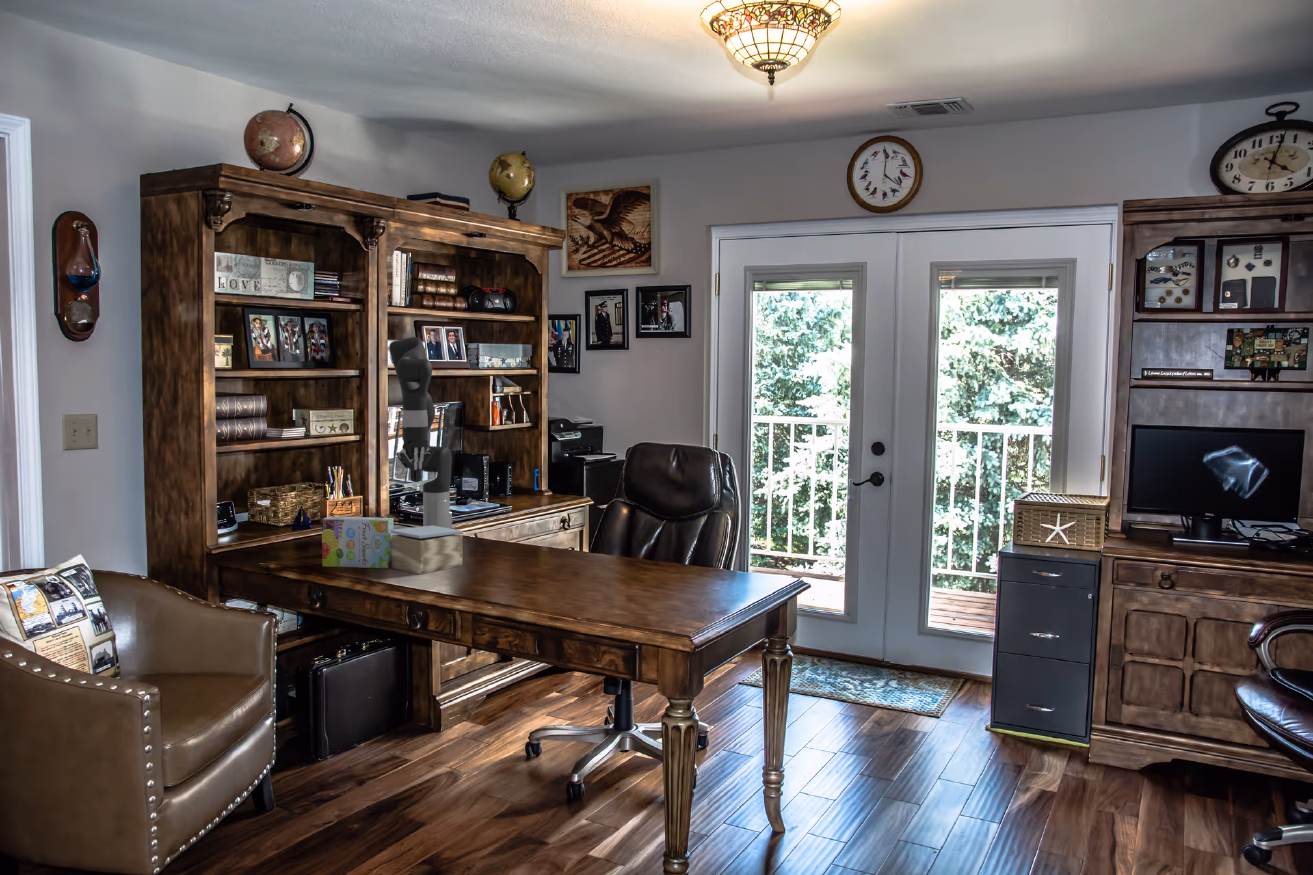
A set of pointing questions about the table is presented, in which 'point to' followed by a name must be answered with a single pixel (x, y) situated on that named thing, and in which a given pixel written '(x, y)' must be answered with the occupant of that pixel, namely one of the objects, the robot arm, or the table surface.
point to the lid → (426, 531)
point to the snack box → (357, 542)
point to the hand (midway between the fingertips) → (415, 481)
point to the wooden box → (426, 553)
